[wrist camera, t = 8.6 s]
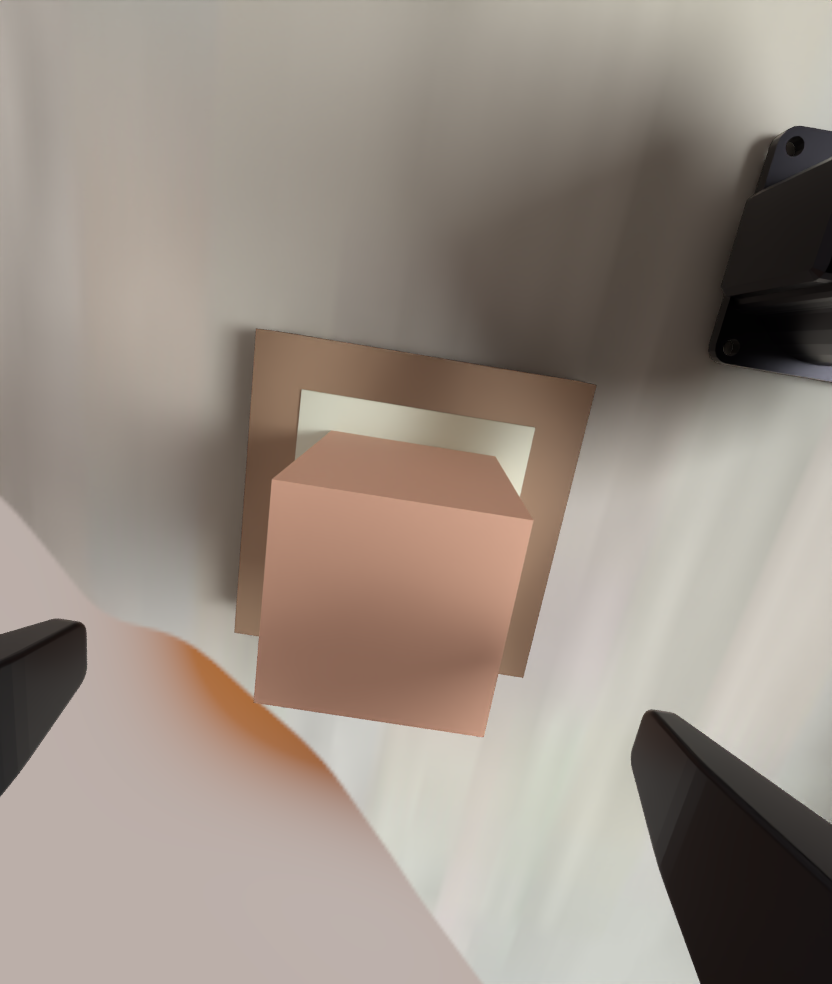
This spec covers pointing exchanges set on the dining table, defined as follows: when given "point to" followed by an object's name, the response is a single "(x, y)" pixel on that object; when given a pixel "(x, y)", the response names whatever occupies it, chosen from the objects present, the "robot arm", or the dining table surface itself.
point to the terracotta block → (389, 583)
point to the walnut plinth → (412, 441)
